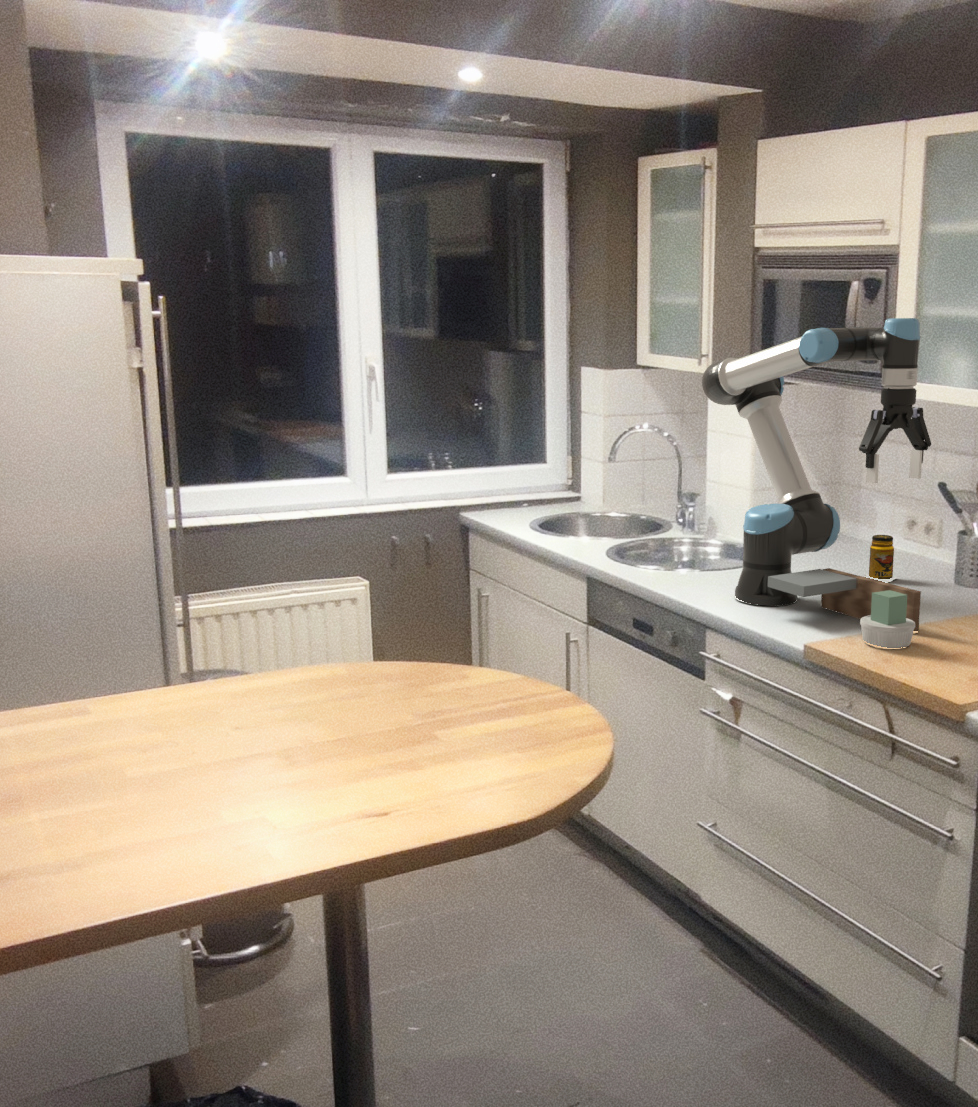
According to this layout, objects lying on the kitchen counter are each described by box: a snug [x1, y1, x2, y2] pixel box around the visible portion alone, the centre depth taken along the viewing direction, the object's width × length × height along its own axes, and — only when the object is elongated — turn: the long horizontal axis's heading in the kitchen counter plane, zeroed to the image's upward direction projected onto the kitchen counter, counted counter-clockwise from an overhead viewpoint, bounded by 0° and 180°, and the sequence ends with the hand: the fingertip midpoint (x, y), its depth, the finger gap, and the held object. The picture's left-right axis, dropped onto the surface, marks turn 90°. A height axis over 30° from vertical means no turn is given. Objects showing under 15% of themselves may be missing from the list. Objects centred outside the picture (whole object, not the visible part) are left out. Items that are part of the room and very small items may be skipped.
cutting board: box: [820, 567, 922, 632], centre depth 256 cm, size 28×2×10 cm, turn 27°
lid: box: [768, 568, 857, 598], centre depth 258 cm, size 12×16×2 cm
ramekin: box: [859, 615, 915, 648], centre depth 237 cm, size 11×11×5 cm
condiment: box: [868, 534, 895, 579], centre depth 295 cm, size 7×8×12 cm
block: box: [871, 590, 907, 625], centre depth 235 cm, size 5×5×6 cm
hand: (893, 480), depth 255 cm, fingers open, 13 cm apart
